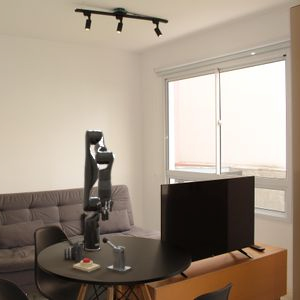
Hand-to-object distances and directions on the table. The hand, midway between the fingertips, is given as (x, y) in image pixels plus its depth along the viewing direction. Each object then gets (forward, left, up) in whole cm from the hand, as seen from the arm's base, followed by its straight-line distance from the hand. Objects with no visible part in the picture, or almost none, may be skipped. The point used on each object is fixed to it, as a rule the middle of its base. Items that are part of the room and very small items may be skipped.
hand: (105, 220), depth 208 cm
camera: (-22, -1, -25) cm, 33 cm away
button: (-5, -10, -21) cm, 24 cm away
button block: (-5, -10, -25) cm, 27 cm away
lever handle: (+4, 0, -14) cm, 15 cm away
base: (+9, 0, -25) cm, 27 cm away
